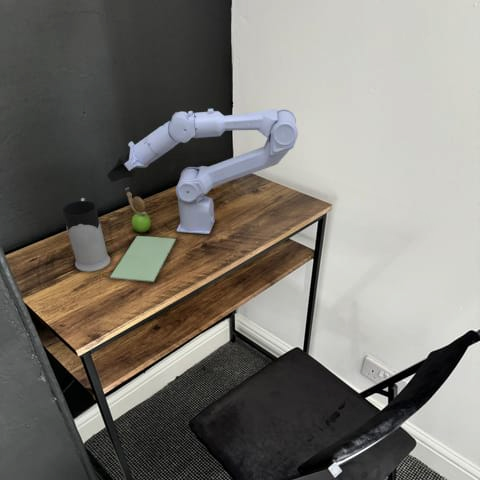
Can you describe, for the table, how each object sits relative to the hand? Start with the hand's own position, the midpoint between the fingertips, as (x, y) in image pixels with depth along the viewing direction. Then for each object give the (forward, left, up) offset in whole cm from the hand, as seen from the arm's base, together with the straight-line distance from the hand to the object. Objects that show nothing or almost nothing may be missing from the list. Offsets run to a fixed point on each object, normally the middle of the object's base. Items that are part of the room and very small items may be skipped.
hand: (114, 174), depth 122 cm
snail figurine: (-6, +2, -16) cm, 17 cm away
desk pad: (-11, +16, -15) cm, 25 cm away
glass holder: (+2, +17, -16) cm, 23 cm away
